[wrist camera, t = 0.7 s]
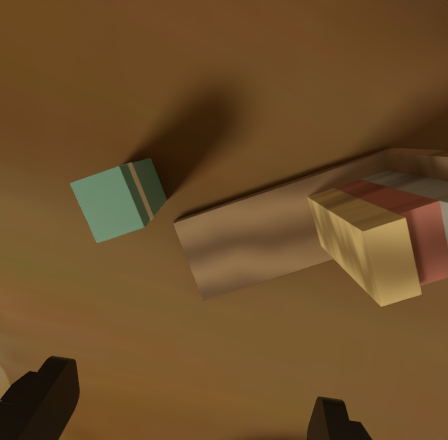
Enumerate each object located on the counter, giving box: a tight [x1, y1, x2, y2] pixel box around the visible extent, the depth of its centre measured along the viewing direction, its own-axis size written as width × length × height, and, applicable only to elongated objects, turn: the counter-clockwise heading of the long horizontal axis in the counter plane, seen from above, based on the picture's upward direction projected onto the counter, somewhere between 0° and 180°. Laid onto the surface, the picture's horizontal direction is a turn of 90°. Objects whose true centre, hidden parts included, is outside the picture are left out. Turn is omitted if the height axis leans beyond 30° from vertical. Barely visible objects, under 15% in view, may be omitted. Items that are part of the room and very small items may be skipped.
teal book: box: [70, 158, 167, 243], centre depth 31 cm, size 5×4×12 cm
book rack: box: [173, 148, 448, 307], centre depth 29 cm, size 10×26×18 cm, turn 109°
